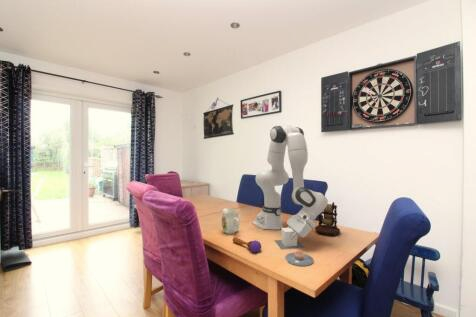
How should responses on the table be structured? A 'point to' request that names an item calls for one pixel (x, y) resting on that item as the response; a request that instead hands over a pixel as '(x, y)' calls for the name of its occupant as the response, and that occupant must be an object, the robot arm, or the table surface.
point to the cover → (285, 237)
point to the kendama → (249, 244)
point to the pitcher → (230, 221)
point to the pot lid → (299, 259)
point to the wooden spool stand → (328, 221)
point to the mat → (288, 247)
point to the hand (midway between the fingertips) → (287, 236)
